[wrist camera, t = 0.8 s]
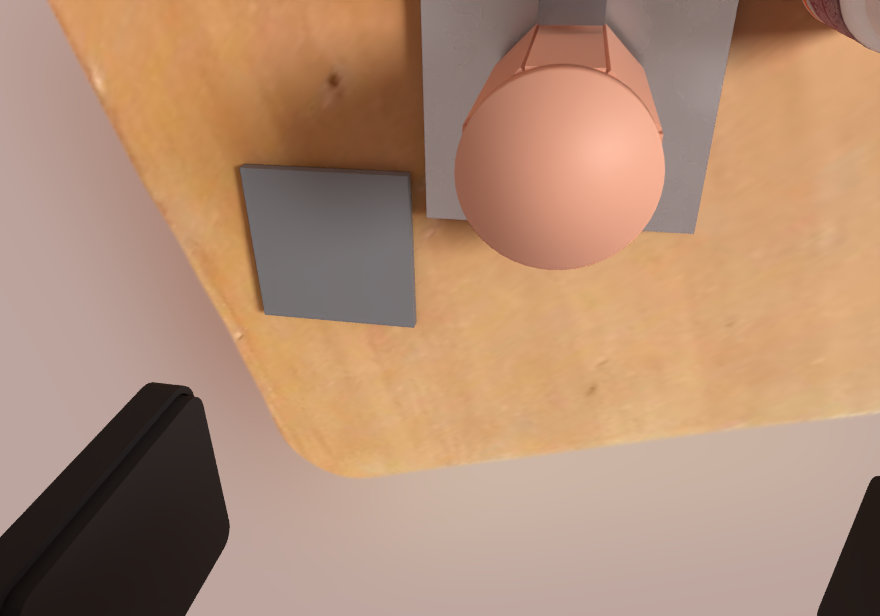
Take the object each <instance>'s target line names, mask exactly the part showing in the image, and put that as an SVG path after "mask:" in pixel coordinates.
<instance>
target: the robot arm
mask: <svg viewBox="0 0 880 616" xmlns="http://www.w3.org/2000/svg"><path fill="white" fill-rule="evenodd" d="M229 528H230V525H229V519H228V514H227V510H226V505H225V501H224V496H223V492H222V487H221V483H220V478H219V474H218V469H217V465H216V460H215V456H214V451H213V447H212V443H211V438H210V433H209V429H208V424H207V420H206V415H205V411H204V406H203V403H202V401H201V399H200V398H198V397H194V395H193V392H192V390H191V389H190V388H189V387H186V386H180V385H172V384H163V383H154V382H152V383H148V384H146V385H145V386H144V387H143V388H142V389H141V390H140V391H139V392H138V393H137V394H136V395H135V396H134V397H133V398H132V399H131V400H130V401H129V402H128V403H127V404H126V405H125V406H124V408H123V409H122V410H121V411H120V412H119V413H118V414H117V415H116V416H115V417H114V418H113V419H112V420H111V421H110V422H109V423H108V424H107V425H106V427H104V429H103V430H102V431H101V432H100V433H99V434H98V435H97V436H96V437H95V438H94V439H93V440H92V441H91V442H90V443H89V444H88V445H87V447H86V448H85V449H84V450H83V451H82V452H81V453H80V454H79V455H78V456H77V457H76V458H75V459H74V460H73V461H72V462H71V463H70V464H69V465H68V466H67V467H66V469H65V470H64V471H63V472H62V473H61V474H60V475H59V476H58V477H57V478H56V479H55V480H54V481H53V482H52V483H51V484H50V485H49V487H48V488H47V489H46V490H45V491H44V492H43V493H42V494H41V495H40V496H39V497H38V498H37V499H36V500H35V501H34V502H33V503H32V505H31V506H29V508H28V509H27V510H26V511H25V512H24V513H23V514H22V515H21V516H20V517H19V518H18V519H17V520H16V521H15V522H14V523H13V524H12V525H11V527H10V528H9V529H8V530H7V531H6V532H5V533H4V534H3V535H2V536H1V537H0V616H185V615H186V613H187V611H188V610H189V608H190V606H191V604H192V603H193V601H194V599H195V598H196V595H197V594H198V592H199V591H200V589H201V587H202V585H203V584H204V582H205V580H206V579H207V577H208V575H209V573H210V572H211V570H212V568H213V566H214V565H215V563H216V561H217V560H218V558H219V556H220V554H221V553H222V551H223V549H224V547H225V545H226V543H227V540H228V536H229ZM817 616H880V476H875V477H874V478H873V479H872V480H871V481H870V483H869V486H868V488H867V490H866V493H865V495H864V498H863V500H862V503H861V505H860V508H859V510H858V513H857V515H856V518H855V520H854V523H853V525H852V528H851V530H850V533H849V535H848V537H847V540H846V542H845V545H844V547H843V550H842V552H841V555H840V557H839V559H838V562H837V565H836V567H835V570H834V572H833V574H832V577H831V579H830V582H829V584H828V587H827V589H826V592H825V594H824V596H823V599H822V602H821V604H820V606H819V609H818V613H817Z"/></svg>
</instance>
